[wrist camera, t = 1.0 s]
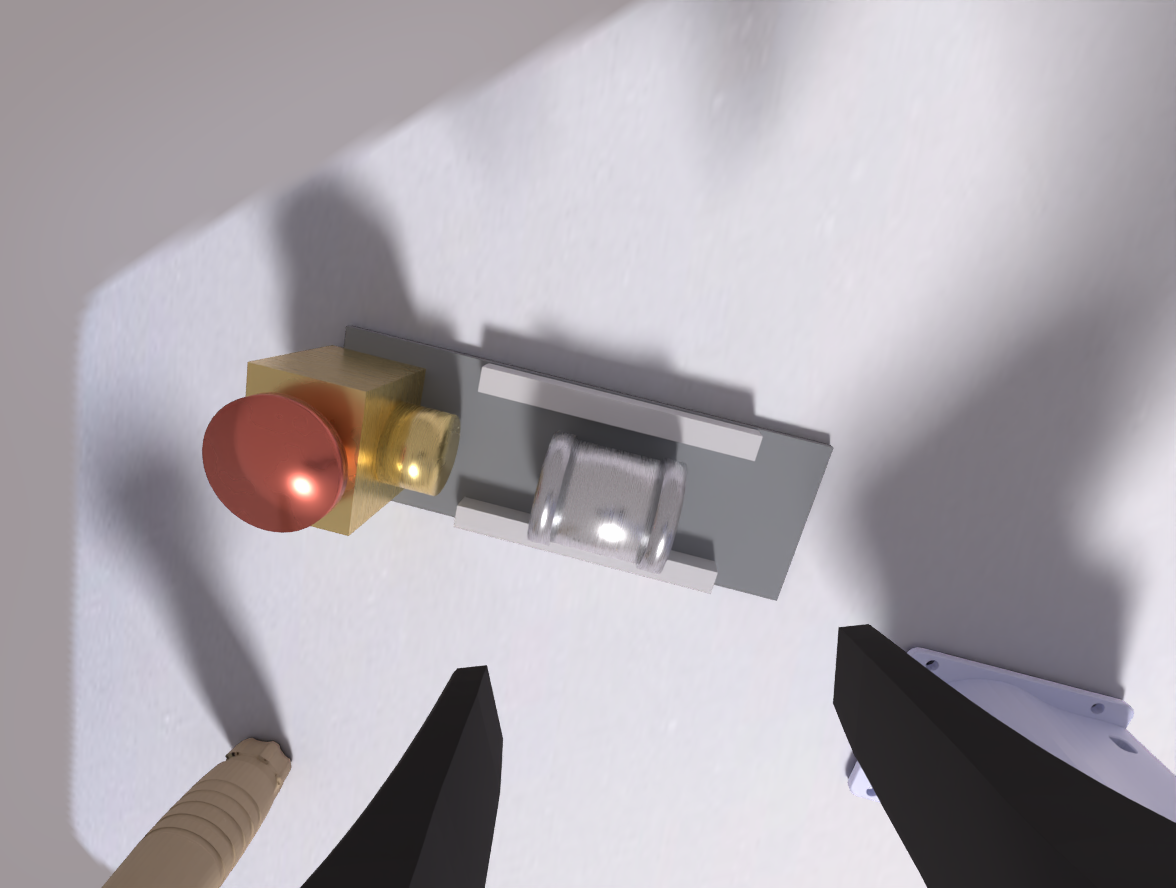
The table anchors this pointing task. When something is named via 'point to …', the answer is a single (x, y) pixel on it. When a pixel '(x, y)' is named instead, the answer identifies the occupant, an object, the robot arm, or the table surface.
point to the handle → (208, 823)
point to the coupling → (608, 502)
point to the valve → (326, 441)
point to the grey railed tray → (624, 422)
